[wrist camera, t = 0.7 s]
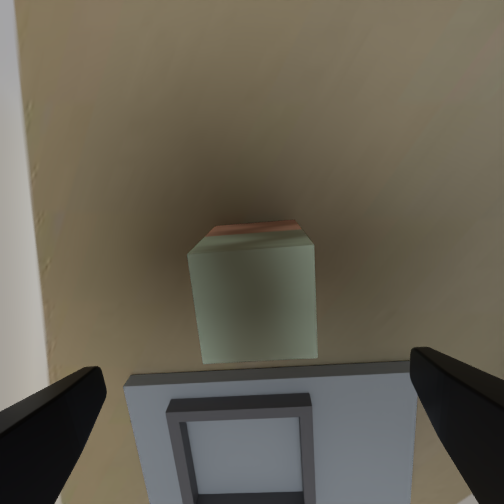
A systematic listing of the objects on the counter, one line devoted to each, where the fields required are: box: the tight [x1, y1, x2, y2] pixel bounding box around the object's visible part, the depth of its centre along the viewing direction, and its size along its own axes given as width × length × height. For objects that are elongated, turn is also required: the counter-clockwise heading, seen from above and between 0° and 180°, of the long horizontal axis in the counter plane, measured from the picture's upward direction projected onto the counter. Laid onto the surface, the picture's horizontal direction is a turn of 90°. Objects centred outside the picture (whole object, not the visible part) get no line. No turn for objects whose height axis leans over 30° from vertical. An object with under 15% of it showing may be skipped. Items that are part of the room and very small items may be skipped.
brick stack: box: [187, 220, 318, 364], centre depth 15 cm, size 5×5×7 cm
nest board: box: [123, 361, 417, 504], centre depth 21 cm, size 20×12×2 cm, turn 95°
